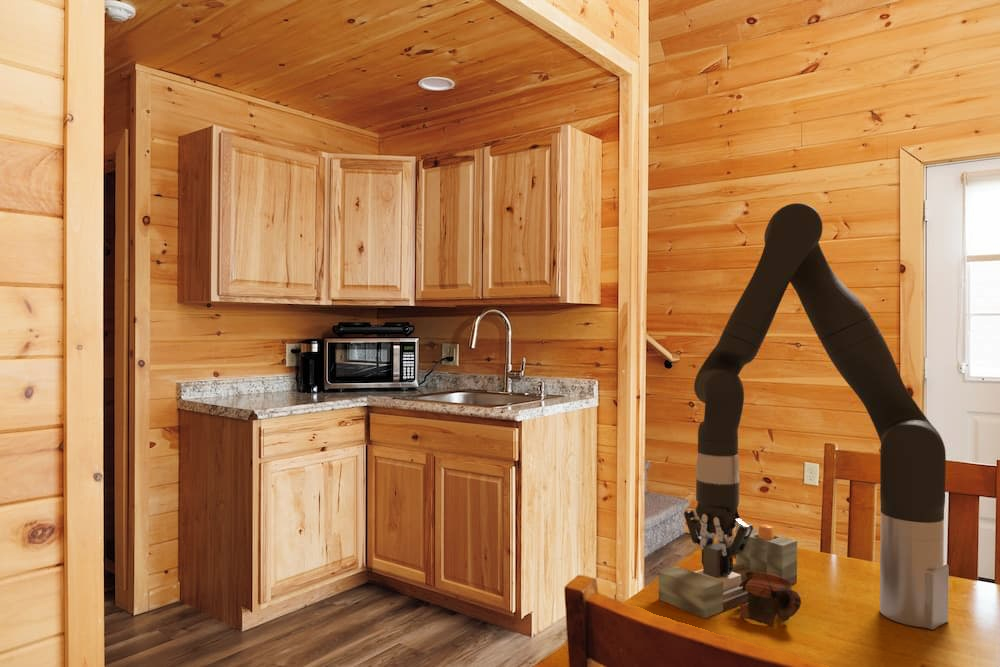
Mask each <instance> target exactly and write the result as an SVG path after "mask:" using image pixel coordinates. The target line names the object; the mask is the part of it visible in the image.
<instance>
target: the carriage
mask: <svg viewBox="0 0 1000 667" xmlns="http://www.w3.org/2000/svg"><path fill="white" fill-rule="evenodd" d="M720 555H722V554H721V550H720V543H719V542H718V541H716V542H714V543H712V544H709V545H705V546H703V565H702V567H703V568H702V569H698V570H696V571H694V572H695V573H698V574H701V575H704V576H707V577H710V578H712V579H715V580H718V581H721V582H723V592H725V591H728V590H730V589H733V588H736V587H739V585H740V584H741V575H740V574H737V573H734V572H731V573H730V575H727V576H722V575H721V574H720Z"/></svg>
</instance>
